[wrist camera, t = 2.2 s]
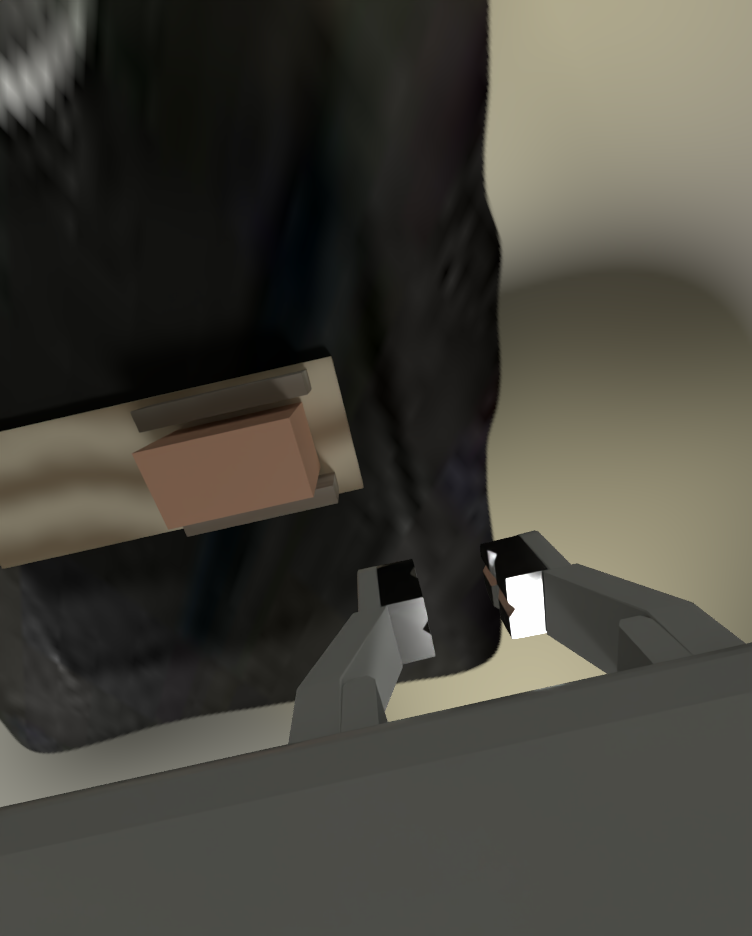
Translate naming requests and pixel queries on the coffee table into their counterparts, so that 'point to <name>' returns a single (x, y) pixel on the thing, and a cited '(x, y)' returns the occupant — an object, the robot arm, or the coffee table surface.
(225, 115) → the coffee table surface
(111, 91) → the coffee table surface
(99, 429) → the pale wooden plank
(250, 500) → the terracotta block
